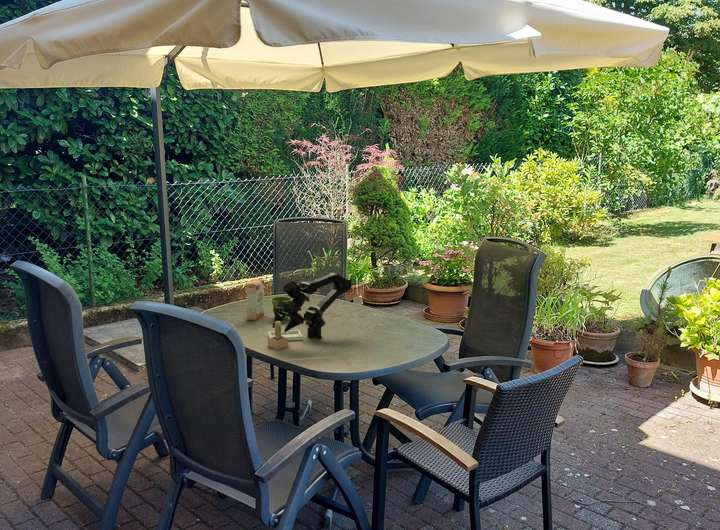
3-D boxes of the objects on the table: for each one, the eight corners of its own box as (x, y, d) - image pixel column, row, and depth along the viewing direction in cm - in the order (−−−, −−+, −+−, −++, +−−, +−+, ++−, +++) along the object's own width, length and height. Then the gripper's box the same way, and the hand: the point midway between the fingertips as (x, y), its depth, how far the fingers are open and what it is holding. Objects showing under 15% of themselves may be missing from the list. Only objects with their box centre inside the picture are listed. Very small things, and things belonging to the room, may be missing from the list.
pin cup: (279, 343, 302) (279, 335, 301) (288, 347, 297) (288, 338, 296) (268, 346, 297) (267, 337, 296) (276, 350, 292) (276, 341, 291)
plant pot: (290, 320, 343) (290, 301, 341) (269, 320, 343) (269, 301, 341) (293, 315, 354) (293, 296, 352) (273, 315, 354) (272, 296, 352)
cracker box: (257, 320, 343) (256, 284, 339) (246, 320, 344) (245, 283, 340) (265, 314, 356) (264, 279, 352) (255, 313, 357) (254, 278, 353)
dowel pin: (281, 344, 299) (280, 321, 297) (281, 346, 296) (281, 322, 294) (274, 345, 298) (274, 321, 296) (275, 347, 295) (275, 323, 293)
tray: (299, 334, 318) (299, 329, 318) (302, 340, 307) (302, 336, 306) (268, 336, 314) (268, 331, 314) (270, 343, 303) (270, 338, 303)
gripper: (275, 290, 303) (257, 316, 297) (299, 297, 290) (281, 324, 284) (288, 303, 310) (270, 329, 304) (312, 310, 297) (294, 337, 291)
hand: (278, 329), depth 296 cm, fingers open, 9 cm apart
